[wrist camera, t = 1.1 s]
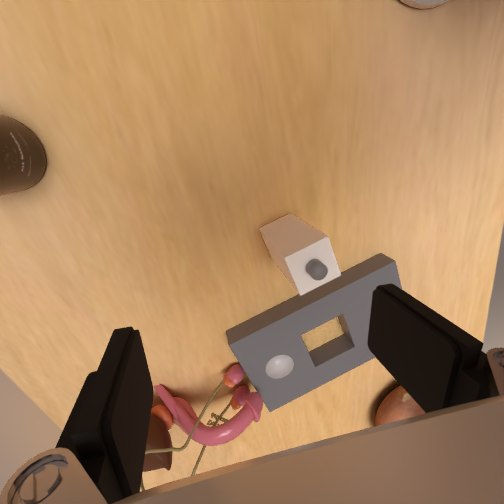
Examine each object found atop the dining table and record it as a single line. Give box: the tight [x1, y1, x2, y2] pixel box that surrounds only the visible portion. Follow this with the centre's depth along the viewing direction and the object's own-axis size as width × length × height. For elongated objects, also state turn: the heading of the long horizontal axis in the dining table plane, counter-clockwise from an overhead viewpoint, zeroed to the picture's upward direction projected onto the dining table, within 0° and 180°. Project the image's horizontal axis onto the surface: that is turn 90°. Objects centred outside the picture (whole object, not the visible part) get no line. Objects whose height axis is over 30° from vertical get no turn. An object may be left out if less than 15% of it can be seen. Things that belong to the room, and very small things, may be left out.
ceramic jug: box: [375, 385, 425, 426], centre depth 45 cm, size 18×14×14 cm
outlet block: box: [226, 253, 402, 412], centre depth 40 cm, size 24×14×3 cm, turn 114°
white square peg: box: [259, 213, 341, 296], centre depth 30 cm, size 4×4×11 cm
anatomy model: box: [141, 364, 263, 491], centre depth 36 cm, size 11×15×17 cm
